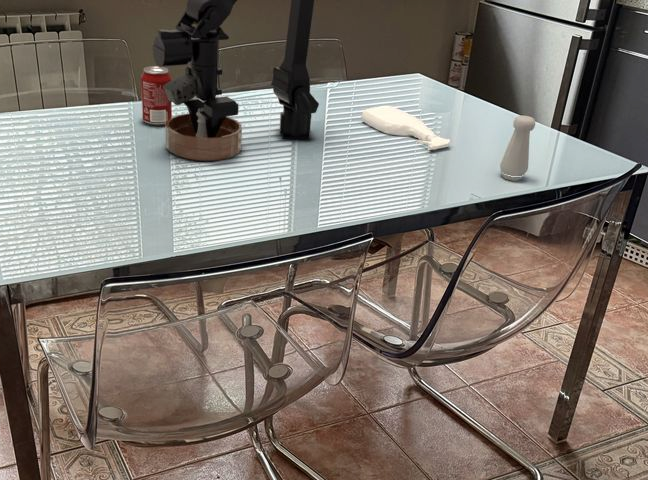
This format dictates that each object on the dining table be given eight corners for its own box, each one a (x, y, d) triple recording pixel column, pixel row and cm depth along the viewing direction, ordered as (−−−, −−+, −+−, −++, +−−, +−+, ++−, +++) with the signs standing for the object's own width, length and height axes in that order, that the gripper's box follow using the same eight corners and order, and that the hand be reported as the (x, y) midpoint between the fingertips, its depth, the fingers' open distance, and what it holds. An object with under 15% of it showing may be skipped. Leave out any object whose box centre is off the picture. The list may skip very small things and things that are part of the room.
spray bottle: (389, 115, 199) (459, 148, 183) (356, 121, 193) (424, 156, 177) (391, 103, 197) (461, 136, 181) (357, 109, 192) (427, 143, 176)
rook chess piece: (205, 151, 168) (206, 114, 164) (189, 146, 170) (189, 109, 166) (218, 146, 172) (218, 109, 167) (201, 141, 174) (201, 104, 169)
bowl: (240, 137, 179) (240, 114, 176) (241, 163, 165) (242, 139, 162) (168, 134, 177) (167, 111, 174) (164, 160, 164) (163, 136, 161)
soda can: (169, 128, 181) (168, 74, 174) (140, 125, 181) (138, 72, 174) (173, 118, 186) (173, 66, 180) (145, 116, 186) (143, 64, 179)
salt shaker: (526, 175, 171) (541, 115, 163) (524, 184, 166) (539, 123, 159) (499, 170, 172) (513, 111, 165) (496, 179, 168) (510, 118, 160)
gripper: (148, 54, 163) (150, 128, 172) (191, 79, 151) (191, 157, 160) (195, 50, 169) (195, 122, 178) (241, 73, 156) (238, 149, 165)
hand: (203, 137), depth 170 cm, fingers open, 5 cm apart
